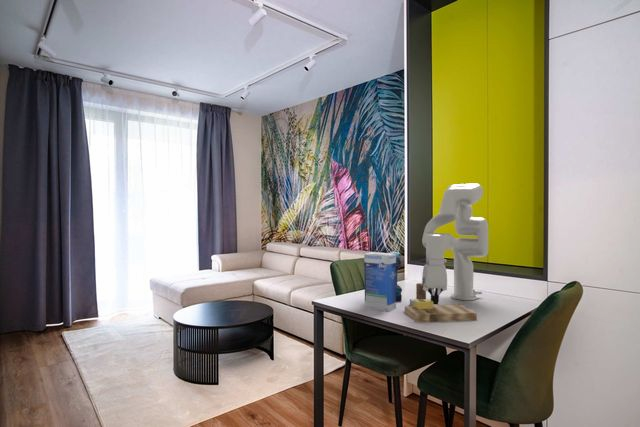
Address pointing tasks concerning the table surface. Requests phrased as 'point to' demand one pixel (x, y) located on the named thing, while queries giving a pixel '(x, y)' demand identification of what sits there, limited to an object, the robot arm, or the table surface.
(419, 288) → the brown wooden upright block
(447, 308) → the wooden pallet
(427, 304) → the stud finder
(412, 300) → the awl holder block
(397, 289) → the impact wrench
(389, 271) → the string lights box
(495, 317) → the table surface
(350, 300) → the table surface
